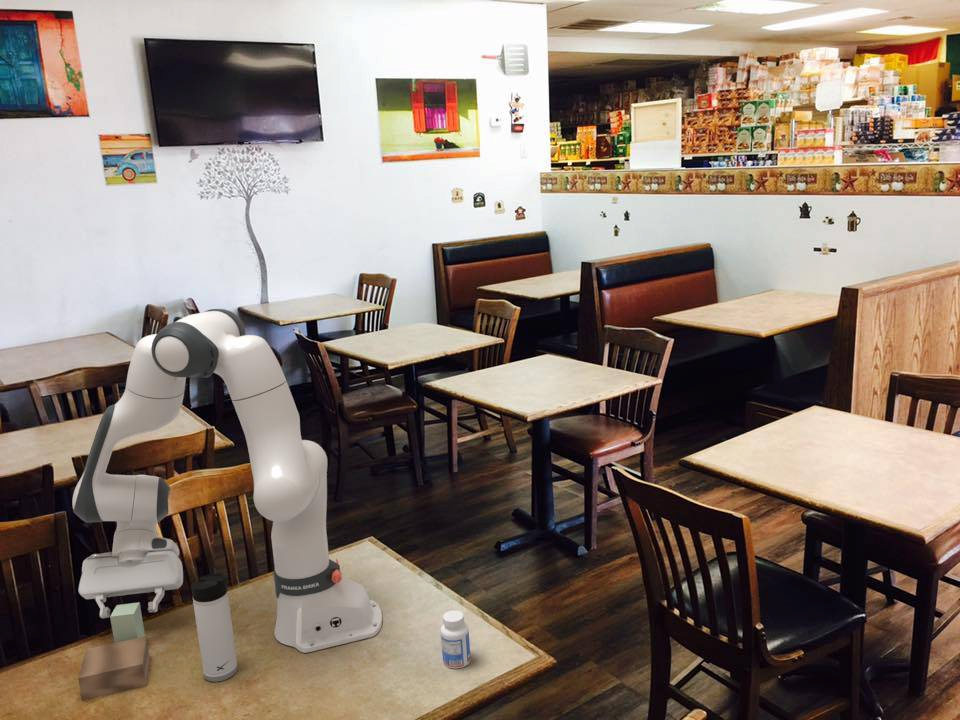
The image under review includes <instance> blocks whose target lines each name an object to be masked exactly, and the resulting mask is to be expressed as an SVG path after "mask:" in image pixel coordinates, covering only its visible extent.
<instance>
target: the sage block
mask: <svg viewBox="0 0 960 720" xmlns="http://www.w3.org/2000/svg"><path fill="white" fill-rule="evenodd" d="M140 603H141V602H131V603H124V604H123V603H122V604H117V605H116V606H115V607H114V609H113V611H112V612H111V613H110V617H109V618H110V625H111V631H112V635H113V641H114V642H113V643H118V642H123V641H127V640H132V639H137V638H142V637H146V634H145V626H144V621H143V615H142V610H141V604H140Z"/></svg>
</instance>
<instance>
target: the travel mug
mask: <svg viewBox="0 0 960 720" xmlns="http://www.w3.org/2000/svg"><path fill="white" fill-rule="evenodd" d="M227 581H228V578H227V576H226V575H225V574H224V573H221V572H215V573H209V574H206V575H204V576H201V577H199V578H198V579H197V580H195V581H194V582H193V584H192V585H191V586H190V587H191V593H192V600H193V601H192V603H193V609H194V617H195V624H196V630H197V631H196V632H197V638H198V644H199V645H198V646H199V652H200V659H201V665H202V672H203V677H204V679H205V680H206V681H208V682H212V683H213V682H222V681H226V680H228V679H230V678H232V677H233V676H234V675H235V674H236V673H237V671H238V661H237V654H236V653H237V652H236V645H235V637H234V630H233V624H232V623H233V621H232V614H231V608H230V600H229V594H228V593H229V592H228V587H227Z"/></svg>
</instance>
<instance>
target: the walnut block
mask: <svg viewBox="0 0 960 720" xmlns="http://www.w3.org/2000/svg"><path fill="white" fill-rule="evenodd" d="M150 659H151V656H150V650H149V643H148V637H147V636H145V637H142V638H137V639H132V640H127V641H123V642H118V643H115V642H113V643H109V644H104V645H99V646H93V647H91V648H90V647H89V648H86V649H85V651H84V656H83V660H82V663H81V666H80V670H79V674H78V678H77V680H78V686H79V691H80V696H81V701H86V699H87V700H91V698H92V699H94V698H95V699H96V698H99V696H101V697H103V696H107V695H108V696H109V695H113V694H118V693H122V692H127V691H130V690H135V689H140V688H145V687H146V686H147V681H148V673H149V665H150Z"/></svg>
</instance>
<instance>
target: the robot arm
mask: <svg viewBox="0 0 960 720" xmlns="http://www.w3.org/2000/svg"><path fill="white" fill-rule="evenodd" d="M133 350H134V351H133V353H132V356H131V359H130V362H129V363H130V364H129V366H128V371H127V375H126V376H127V377H126V383H125V389H124V392H123V394H122V396H121V397H120V398H119V400H118V401H117V402H116V403H114V404H112V405H108V407H107V408H106V409H105V410H104V412H103V414H102V416H101V418H100V421H99V423H98V427H97V430H96V431H95V432H96V433H95V434H94V437H93V442H92V444H91V447H90V450H89V453H88V455H87V456H88V457H87V459H86V462H85V466H84V469H83V472H82V475H81V477H80V479H79V481H77V484H76V486H75V488H74V491H73V493H72V494H73V495H72V509H73V510H72V512H73V513H74V514H75V515H76V516H77V517H78V518H79V519H80V520H82V521H83V522H85V523H86V524H88V523H103V522H116V529H115V531H114V535H113V540H112V541H113V543H112V551H109V552H103V553H93V554H91V555H90V556H88V557H86V558H85V559H84V560H83V562H82V567H81V576H80V580H79V584H78V589H77V590H78V593H79V595H80V596H81V597H82V598H84V599H85V600H92V599H93V600H95V602H96V604H97V605H98V606H97V607H99V609H100V610H99V618H101V619H107V618H110V616H111V609H110V608H109V606H105V604H104V603H106V602H107V598H111V597H118V596H119V597H120V596H127V595H136V594H137V595H138V594H146V593H152V592H154V593H155V594H156V595H155V597H154V598H153V600H152V601H148V603H147V606H148V607H147V611H148V613H156V612H158V607H159V604H160V602H161V601H162V599H163V598H164V597H165V591H170V590H178V589H180V588H181V586H182V585H183V583H184V571H183V570H184V569H183V562H182V561H181V559H180V558H179V556H180V549H179V546H178V545H177V543H175V542H174V540H172V539H171V538H166V537H159V534H158V533H159V532H158V523H160V522H161V521H162V520H164V519H165V517H166V516H168V515H169V511H170V510H169V496H170V494H171V486H170V485H169V483H167V481H165V480H164V479H163V478H162V477H161V476H159V477H158V476H156V475H147V474H136V475H135V474H134V475H129V474H127V475H126V474H110V473H107V472H106V471H107V468H108V465H109V462H110V459H111V456H112V453H113V451H114V448H115V447H116V446H117V445H118V443H120V442H121V441H123V440H126V439H128V438H131V437H134V436H137V435H140V434H145V433H149V432H150V433H151V432H154V431H157V430H160V429H162V428H164V427H165V426H167V425H169V424H170V423H172V422H173V421H174V420H175V419H176V418H177V416H178V415H179V413H180V411H181V408H182V405H183V401H184V397H185V389H186V379H187V378H209V377H210V376H212V375H213V374H216V375H218V376H219V377H220V378H222V380H223V381H224V383H225V386H226V388H227V390H228V393H229V397H230V398H231V402H232V405H233V407H234V409H235V413H236V415H237V417H238V420H239V422H240V425H241V429H242V431H243V434H244V436H245V441H246V445H247V449H248V450H247V451H248V455H249V456H248V457H249V461H250V466H251V467H250V468H251V473H252V478H253V497H252V498H253V503H254V507H255V509H256V510H257V512H258V513H259V515H261V516H262V517H263V518H265V519H267V520H269V521H271V522H272V528H271V533H270V534H271V536H270V538H271V547H272V556H273V564H274V569H273V573H272V575H273V576H272V580H273V587H274V588H273V590H274V593H275V597H276V599H277V602H276V603H277V605H276V606H277V607H276V621H275V627H274V632H273V633H274V637H275V639H276V640H277V641H278V642H279V643H281V644H283V645H286V646H288V647H293V648H295V649H297V650H298V651H299V652H301V653H303V654H304V653H305V654H306V653H312V652H315V651H320V650H323V649H328V648H332V647H336V646H340V645H344V644H348V643H353V642H357V641H361V640H364V639H369V638H373V637H375V636H376V635H377V634H378V633H379V632H380V630H381V628H382V626H383V625H382V624H383V613H382V610H381V606H380V605H379V603H378V602H376V601H375V600H373V599H370V598H369V594H368V592H367V590H366V588H365V587H364V586H363V585H362V584H361V583H359V582H357V581H355V580H352V579H350V578H348V577H346V576H345V575H343V573H342V572H341V567H340V564H339V560H338V558H336V559H335V561H334V560H332V559H330V554H329V545H328V535H327V506H328V503H327V502H328V477H327V476H328V473H327V472H328V456H327V453H326V451H325V450H324V449H323V447H321V445H320V444H319V443H317V442H315V441H312V440H307V439H302V435H301V420H300V419H301V418H300V413H299V411H298V408H297V406H296V405H297V404H296V403H295V400H294V397H293V395H292V392H291V389H290V386H289V384H288V382H287V379H286V376H285V373H284V372H283V370H282V369H283V368H282V367H281V365H280V363H279V360H278V359H277V356H276V355H275V353H274V351H273V350H272V348H271V346H270V345H269V343H268V342H267V341H266V339H265V338H263V337H261V336H259V335H254V334H253V335H252V334H246V329H245V325H244V322H243V321H242V320H241V317H239V316H238V315H237V314H236V313H234V312H232V311H230V310H228V309H225V308H211V309H207V310H205V311H203V312H198V313H194V314H193V313H192V314H189V315H186V316H184V317H181V318H180V319H178V320H176V321H174V322H171V323H168V324H166V325H165V326H164V327H163V328H161V329H160V330H159V331H158V332H157V333H154V334H149V335H145V336H144V337H142V338H141V339H140V340H138V341H137V343H136V345H135V347H134V349H133Z"/></svg>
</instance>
